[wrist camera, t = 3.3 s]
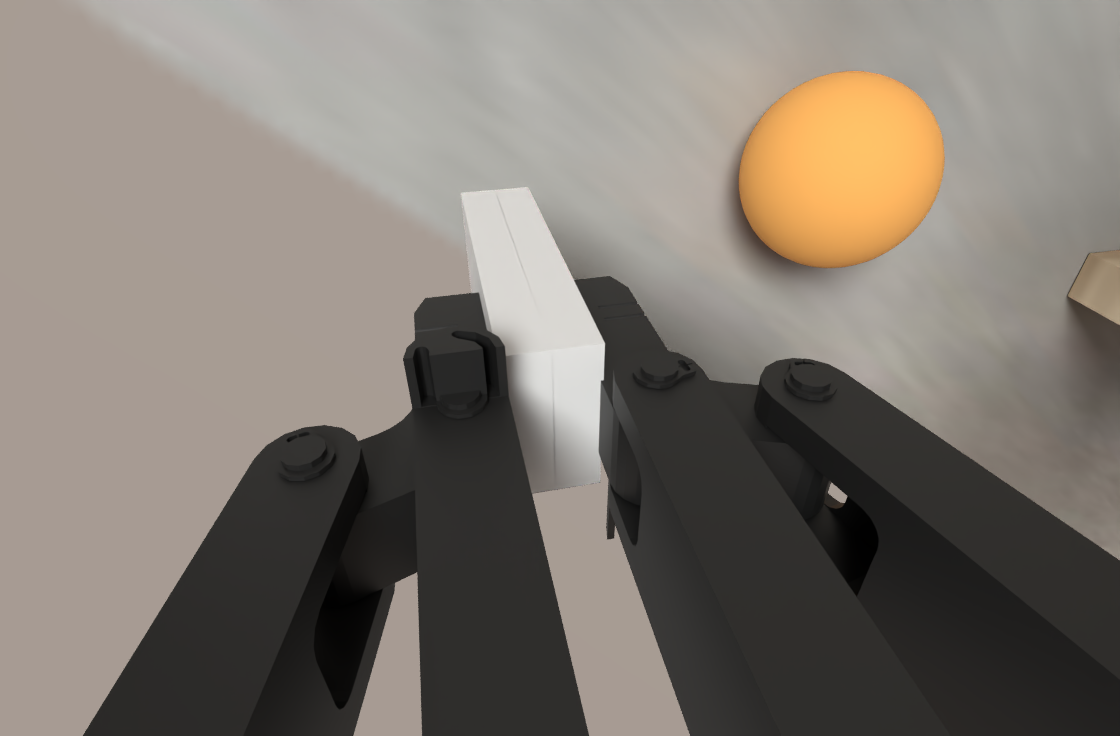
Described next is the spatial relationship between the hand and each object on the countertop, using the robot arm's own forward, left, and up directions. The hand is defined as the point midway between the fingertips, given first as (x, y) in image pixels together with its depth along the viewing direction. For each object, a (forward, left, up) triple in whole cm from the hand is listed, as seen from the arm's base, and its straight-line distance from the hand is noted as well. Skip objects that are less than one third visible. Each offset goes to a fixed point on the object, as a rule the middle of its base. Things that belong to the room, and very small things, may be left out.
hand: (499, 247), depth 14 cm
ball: (-10, 0, -3) cm, 11 cm away
